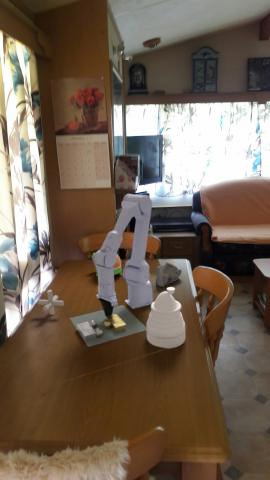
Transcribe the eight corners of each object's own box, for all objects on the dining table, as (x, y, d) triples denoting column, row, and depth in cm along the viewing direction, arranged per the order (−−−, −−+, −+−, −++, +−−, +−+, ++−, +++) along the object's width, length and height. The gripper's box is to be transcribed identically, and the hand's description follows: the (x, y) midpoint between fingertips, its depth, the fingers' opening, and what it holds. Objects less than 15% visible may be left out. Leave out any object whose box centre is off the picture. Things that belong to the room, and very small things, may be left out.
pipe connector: (59, 321, 133) (56, 297, 131) (34, 319, 135) (31, 295, 133) (69, 309, 143) (66, 286, 140) (45, 307, 145) (43, 285, 142)
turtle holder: (104, 266, 189) (102, 244, 186) (127, 274, 177) (126, 251, 173) (85, 272, 181) (83, 250, 178) (108, 281, 168) (106, 257, 165)
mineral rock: (180, 277, 170) (180, 257, 167) (185, 286, 160) (185, 265, 157) (153, 279, 169) (153, 259, 166) (157, 288, 159) (156, 267, 156)
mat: (123, 305, 144) (122, 304, 144) (148, 330, 125) (148, 329, 125) (69, 318, 135) (69, 318, 135) (88, 347, 116) (88, 346, 116)
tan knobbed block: (126, 329, 125) (126, 323, 124) (109, 334, 122) (108, 328, 122) (116, 318, 133) (116, 313, 132) (100, 323, 130) (99, 317, 130)
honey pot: (188, 330, 124) (188, 282, 119) (180, 351, 112) (180, 298, 107) (152, 325, 128) (151, 278, 123) (141, 345, 116) (139, 294, 111)
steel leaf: (103, 336, 122) (103, 330, 121) (85, 341, 119) (84, 335, 118) (94, 324, 129) (94, 318, 129) (77, 329, 127) (76, 323, 126)
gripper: (89, 278, 134) (92, 310, 138) (103, 291, 122) (105, 327, 126) (106, 274, 137) (108, 306, 141) (122, 287, 125) (124, 322, 128)
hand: (108, 316), depth 133 cm, fingers closed
